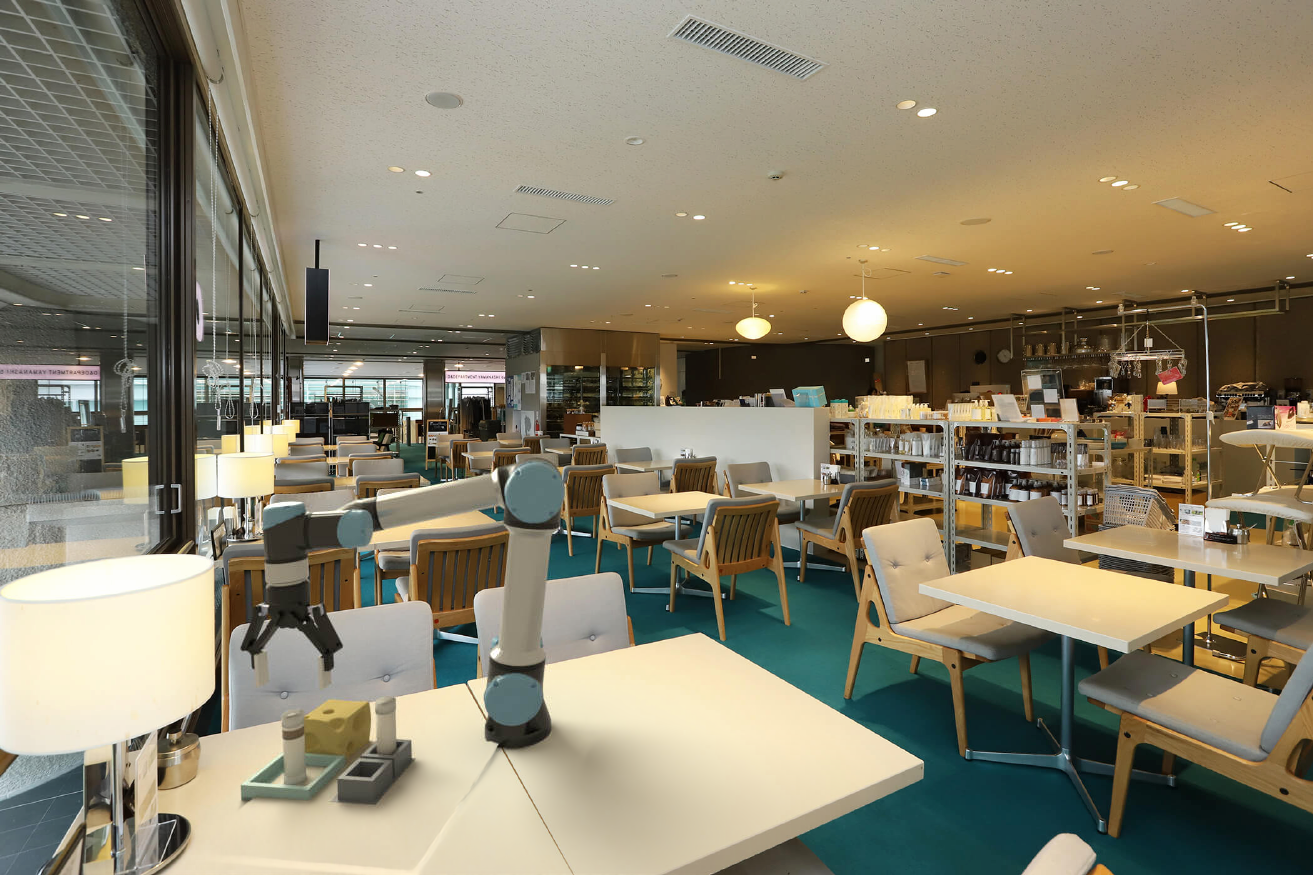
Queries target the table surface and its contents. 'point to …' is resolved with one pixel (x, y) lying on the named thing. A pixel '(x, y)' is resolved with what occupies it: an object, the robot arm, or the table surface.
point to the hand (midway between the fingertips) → (293, 685)
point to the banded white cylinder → (294, 746)
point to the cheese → (337, 727)
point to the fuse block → (376, 761)
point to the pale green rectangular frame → (271, 771)
